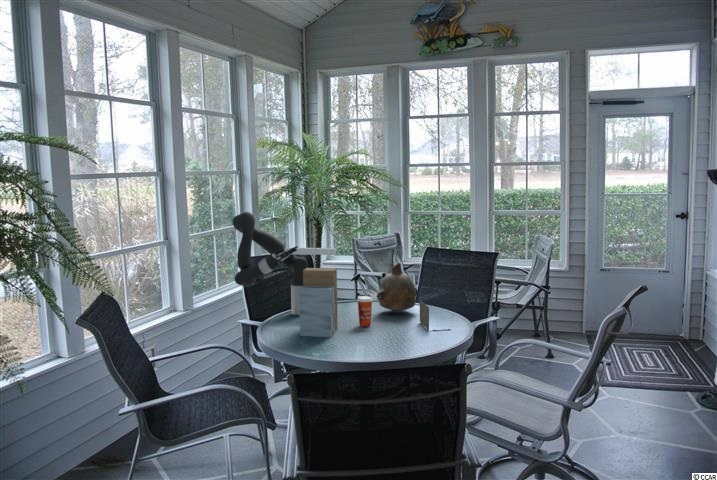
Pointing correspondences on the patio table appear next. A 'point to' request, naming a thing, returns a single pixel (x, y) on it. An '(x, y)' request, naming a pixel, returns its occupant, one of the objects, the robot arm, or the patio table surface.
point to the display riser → (318, 302)
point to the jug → (397, 291)
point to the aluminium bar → (314, 251)
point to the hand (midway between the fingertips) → (296, 248)
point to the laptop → (424, 314)
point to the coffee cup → (364, 310)
